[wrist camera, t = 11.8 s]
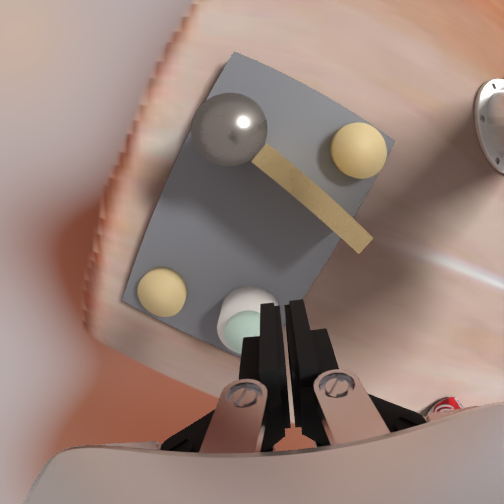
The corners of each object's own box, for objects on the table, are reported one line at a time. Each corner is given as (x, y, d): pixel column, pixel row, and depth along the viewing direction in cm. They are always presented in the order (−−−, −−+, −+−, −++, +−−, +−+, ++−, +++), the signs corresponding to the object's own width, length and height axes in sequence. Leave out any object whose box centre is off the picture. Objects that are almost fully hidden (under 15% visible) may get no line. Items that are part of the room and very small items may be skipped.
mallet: (197, 139, 25) (176, 136, 19) (233, 96, 24) (223, 78, 17) (324, 242, 28) (343, 271, 21) (359, 202, 27) (388, 220, 20)
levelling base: (235, 57, 24) (228, 32, 18) (387, 141, 26) (419, 141, 20) (128, 292, 33) (103, 323, 26) (257, 353, 35) (256, 393, 29)
